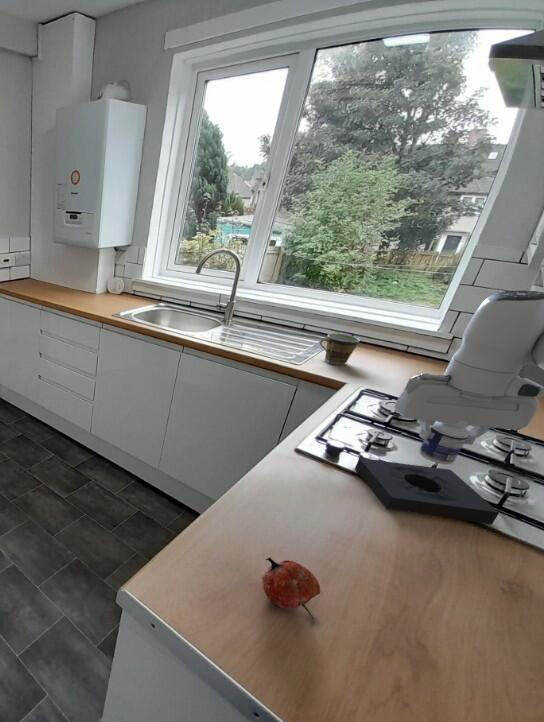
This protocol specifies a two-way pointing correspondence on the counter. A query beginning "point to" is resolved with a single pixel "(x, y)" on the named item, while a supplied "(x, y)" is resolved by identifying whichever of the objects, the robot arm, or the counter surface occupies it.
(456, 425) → the pill bottle
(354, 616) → the counter surface
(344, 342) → the ceramic cup
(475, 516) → the black pad
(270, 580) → the pomegranate
